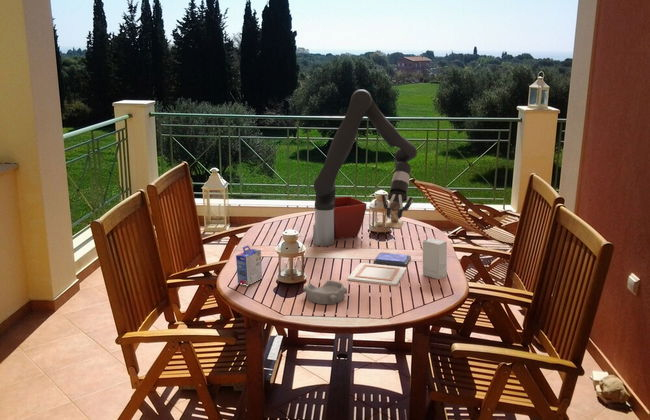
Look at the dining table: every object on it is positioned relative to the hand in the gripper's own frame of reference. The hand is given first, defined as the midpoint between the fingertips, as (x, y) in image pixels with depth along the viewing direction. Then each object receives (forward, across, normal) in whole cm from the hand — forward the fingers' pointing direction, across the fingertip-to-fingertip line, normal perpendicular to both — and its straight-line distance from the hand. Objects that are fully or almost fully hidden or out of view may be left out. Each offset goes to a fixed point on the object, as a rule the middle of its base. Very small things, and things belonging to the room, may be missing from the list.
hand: (393, 217), depth 269 cm
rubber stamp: (+2, 0, +5) cm, 5 cm away
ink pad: (+13, 0, +14) cm, 20 cm away
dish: (+49, -15, -20) cm, 55 cm away
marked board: (+27, -2, +1) cm, 27 cm away
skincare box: (+23, +20, +5) cm, 31 cm away
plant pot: (-9, -33, +38) cm, 51 cm away
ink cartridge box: (+44, -49, -15) cm, 67 cm away
